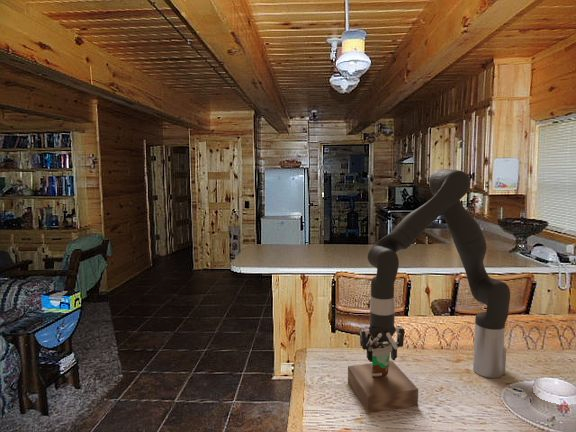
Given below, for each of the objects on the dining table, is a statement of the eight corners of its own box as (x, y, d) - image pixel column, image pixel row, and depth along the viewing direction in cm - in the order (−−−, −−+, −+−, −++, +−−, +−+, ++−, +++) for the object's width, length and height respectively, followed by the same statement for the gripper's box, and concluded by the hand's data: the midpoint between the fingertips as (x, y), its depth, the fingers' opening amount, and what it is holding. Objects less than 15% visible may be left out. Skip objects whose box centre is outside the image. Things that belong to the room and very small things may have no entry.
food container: (393, 382, 126) (393, 351, 124) (372, 380, 127) (372, 349, 125) (391, 362, 138) (391, 333, 136) (372, 361, 139) (372, 332, 137)
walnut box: (392, 377, 143) (392, 360, 143) (417, 407, 126) (418, 389, 125) (347, 382, 141) (347, 366, 140) (367, 414, 123) (367, 395, 122)
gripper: (400, 304, 134) (399, 353, 136) (356, 306, 132) (356, 356, 135) (409, 312, 126) (408, 364, 129) (363, 315, 125) (362, 367, 127)
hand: (381, 359), depth 132 cm, fingers closed on food container, 7 cm apart
